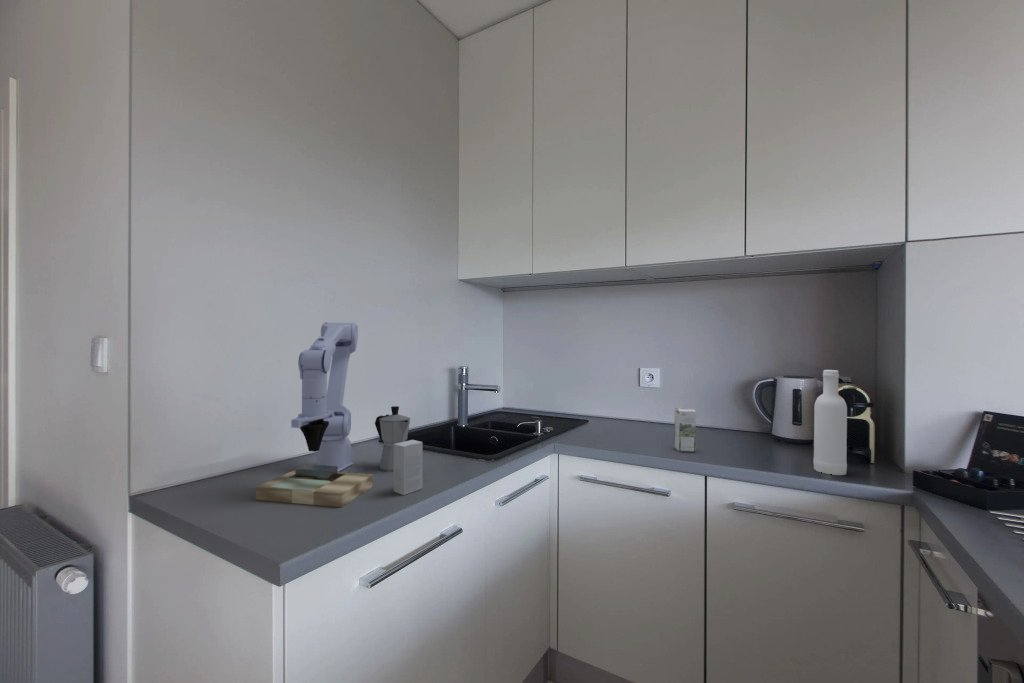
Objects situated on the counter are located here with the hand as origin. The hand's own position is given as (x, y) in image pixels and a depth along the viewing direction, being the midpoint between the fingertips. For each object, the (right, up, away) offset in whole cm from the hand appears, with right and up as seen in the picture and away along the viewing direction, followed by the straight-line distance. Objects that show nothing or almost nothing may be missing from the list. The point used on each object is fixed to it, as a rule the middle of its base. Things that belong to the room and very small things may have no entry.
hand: (313, 450), depth 107 cm
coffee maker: (+15, -10, +19) cm, 26 cm away
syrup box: (+111, -11, +41) cm, 119 cm away
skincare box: (+24, -10, -1) cm, 26 cm away
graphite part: (+1, -6, 0) cm, 6 cm away
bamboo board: (+2, -9, -4) cm, 10 cm away
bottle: (+144, -11, +18) cm, 146 cm away
